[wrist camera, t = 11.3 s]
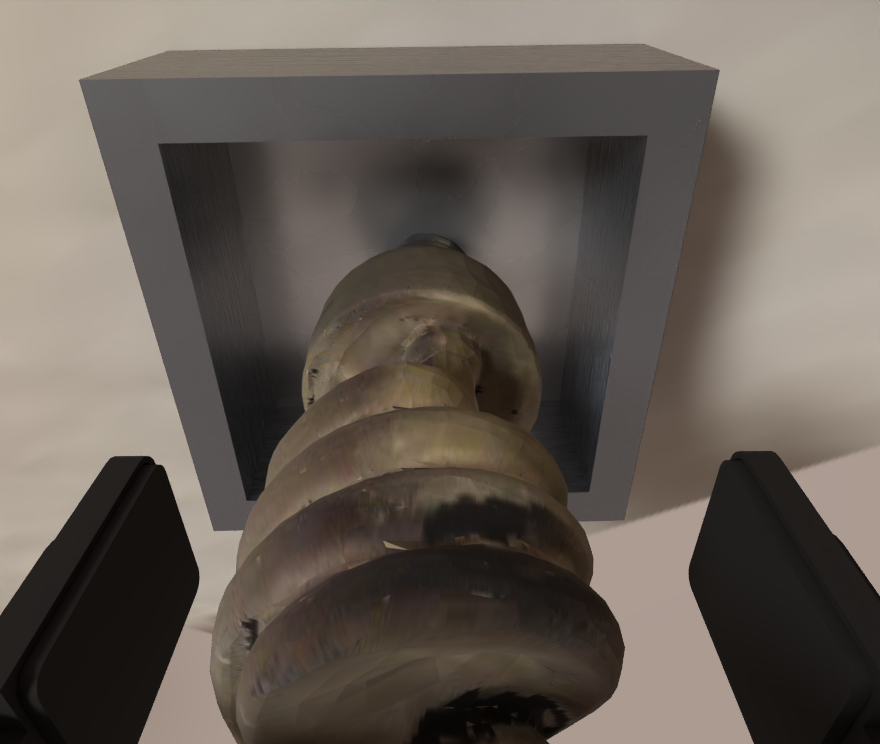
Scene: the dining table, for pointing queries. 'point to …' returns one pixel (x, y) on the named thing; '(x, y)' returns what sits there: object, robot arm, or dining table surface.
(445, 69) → the frame
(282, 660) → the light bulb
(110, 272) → the dining table surface
